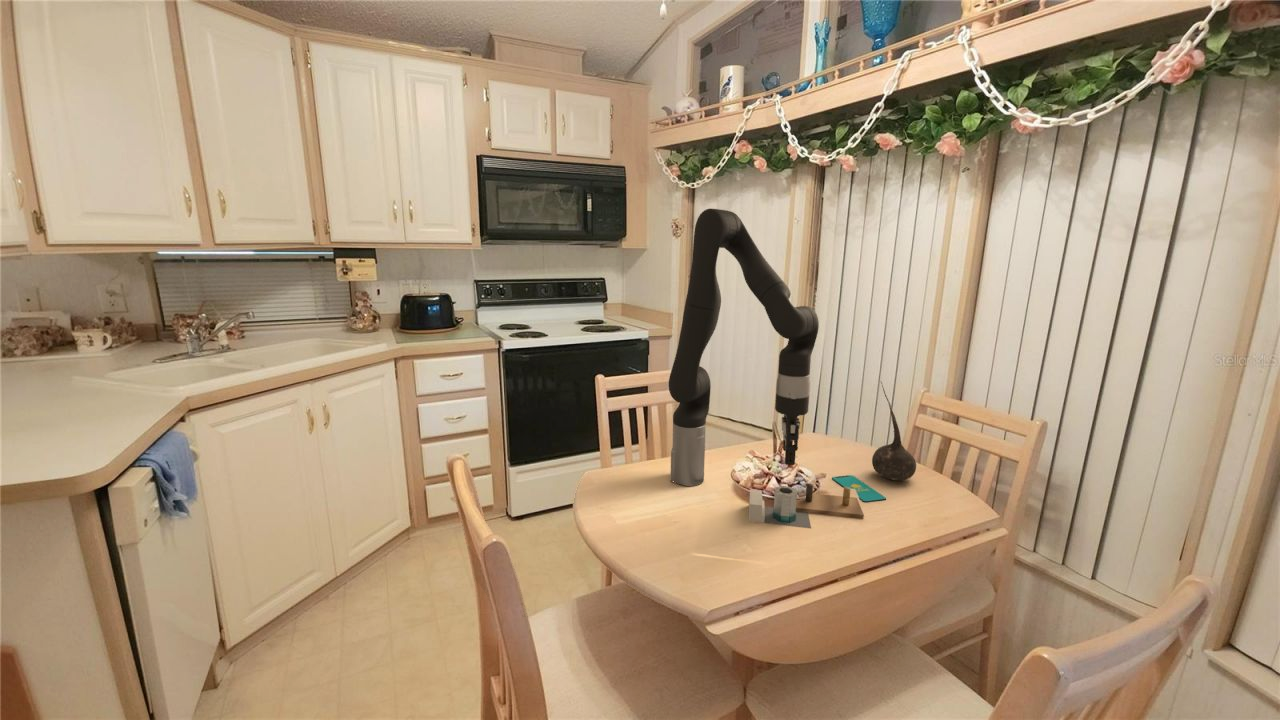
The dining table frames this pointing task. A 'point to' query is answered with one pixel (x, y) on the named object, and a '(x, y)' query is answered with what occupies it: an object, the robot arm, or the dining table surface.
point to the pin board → (830, 504)
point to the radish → (894, 457)
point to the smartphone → (859, 488)
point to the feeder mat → (771, 512)
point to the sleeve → (785, 504)
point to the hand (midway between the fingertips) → (788, 457)
